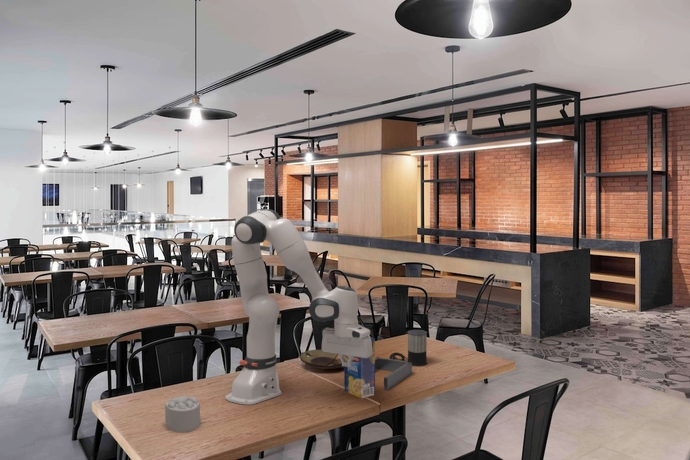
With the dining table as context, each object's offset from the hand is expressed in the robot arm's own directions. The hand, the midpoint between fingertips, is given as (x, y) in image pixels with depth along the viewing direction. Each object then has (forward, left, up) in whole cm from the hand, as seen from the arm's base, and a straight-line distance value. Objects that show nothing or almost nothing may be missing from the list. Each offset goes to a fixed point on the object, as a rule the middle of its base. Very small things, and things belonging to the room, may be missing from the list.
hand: (346, 366), depth 203 cm
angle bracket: (+30, 0, -13) cm, 33 cm away
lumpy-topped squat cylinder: (-46, +37, -13) cm, 60 cm away
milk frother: (+57, -1, -13) cm, 59 cm away
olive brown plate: (+32, +28, -14) cm, 45 cm away
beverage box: (+10, 0, -13) cm, 17 cm away
